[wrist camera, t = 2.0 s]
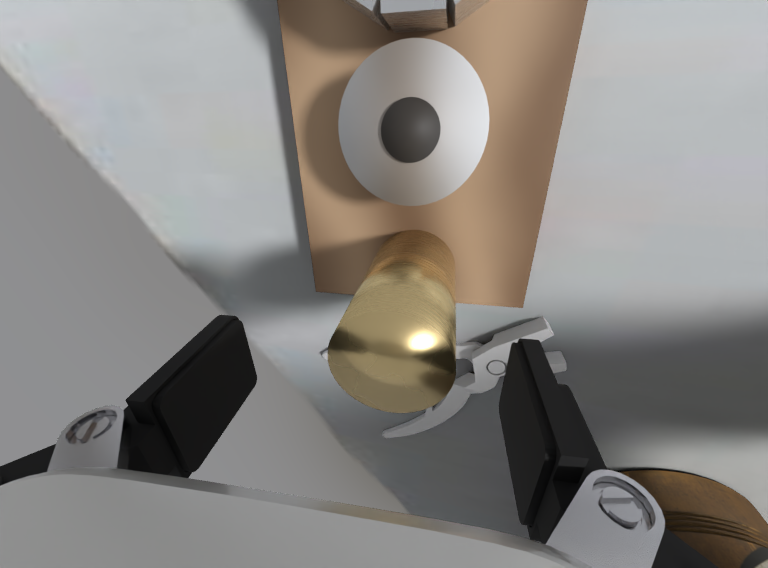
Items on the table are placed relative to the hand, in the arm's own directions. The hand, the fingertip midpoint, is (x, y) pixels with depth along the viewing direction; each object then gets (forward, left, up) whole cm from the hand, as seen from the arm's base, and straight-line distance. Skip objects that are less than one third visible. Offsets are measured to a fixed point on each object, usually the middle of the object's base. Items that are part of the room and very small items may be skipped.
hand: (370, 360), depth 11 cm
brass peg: (-1, 0, -8) cm, 8 cm away
